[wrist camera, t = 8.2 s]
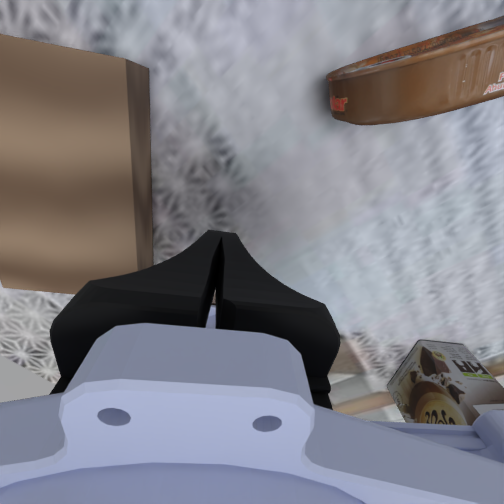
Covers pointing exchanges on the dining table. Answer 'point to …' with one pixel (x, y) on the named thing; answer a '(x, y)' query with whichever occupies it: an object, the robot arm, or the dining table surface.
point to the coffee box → (444, 386)
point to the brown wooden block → (72, 167)
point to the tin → (422, 77)
